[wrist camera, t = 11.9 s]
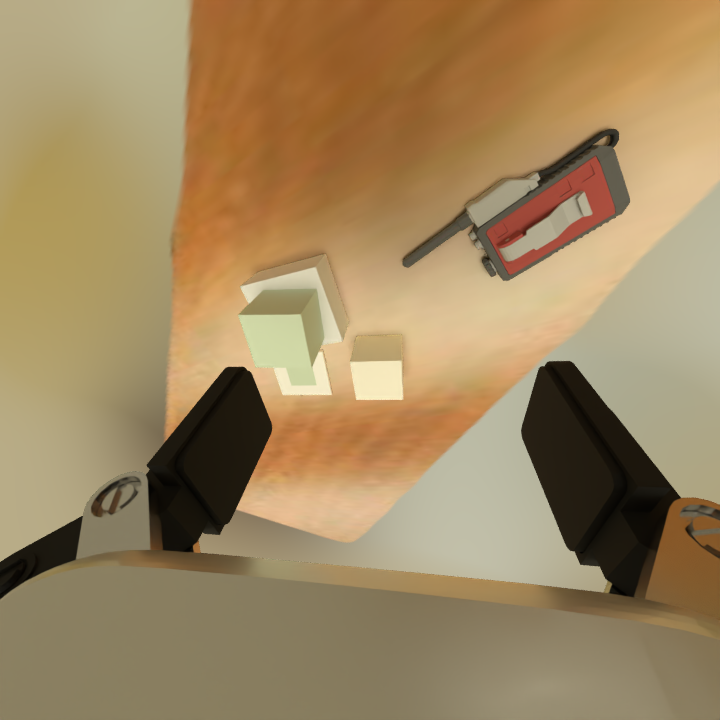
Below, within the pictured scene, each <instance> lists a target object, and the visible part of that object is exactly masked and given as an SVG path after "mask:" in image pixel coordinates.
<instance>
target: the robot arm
mask: <svg viewBox="0 0 720 720" xmlns="http://www.w3.org/2000/svg"><path fill="white" fill-rule="evenodd" d="M271 432H272V423H271V421H270V418H269V416H268V413H267V411H266V408H265V406H264V403H263V401H262V398H261V396H260V393H259V391H258V388H257V386H256V383H255V381H254V378H253V376H252V374H251V372H250V371H247V369H246V368H245V367H227V368H225V369H224V370H223V372H222V373H221V374H220V375H219V376H218V378H217V379H216V380H215V381H214V383H213V384H212V385H211V386H210V388H209V389H208V390H207V391H206V392H205V394H204V395H203V396H202V397H201V399H200V400H199V401H198V402H197V404H196V405H195V406H194V407H193V408H192V410H191V411H190V412H189V413H188V415H187V416H186V417H185V418H184V420H183V421H182V422H181V423H180V424H179V426H178V427H177V428H176V429H175V431H174V432H173V433H172V434H171V436H170V437H169V438H168V439H167V440H166V442H165V443H164V444H163V445H162V447H161V448H160V449H159V450H158V452H157V453H156V454H155V456H153V458H152V459H151V460H150V461H149V463H148V464H147V467H148V468H149V469H150V470H149V472H148V473H147V474H146V475H145V474H144V473H142V472H137V471H133V472H128V473H124V474H122V475H119V476H117V477H115V478H113V479H112V480H110V481H108V482H107V483H106V484H104V485H103V486H102V487H100V488H99V489H98V490H97V491H96V492H95V494H93V495H92V497H91V498H90V500H89V501H88V502H87V504H86V507H85V509H84V513H83V516H81V517H79V518H78V519H76V520H74V521H72V522H70V523H69V524H67V525H65V526H63V527H61V528H59V529H58V530H56V531H54V532H52V533H51V534H48V535H47V536H45V537H43V538H41V539H39V540H37V541H36V542H34V543H32V544H30V545H28V546H26V547H25V548H23V549H21V550H19V551H17V552H16V553H14V554H12V555H11V556H9V557H7V558H6V559H4V560H3V561H1V562H0V720H720V505H719V504H716V503H714V502H711V501H708V500H704V499H699V498H681V497H680V496H679V495H678V494H677V492H676V491H675V490H674V488H673V487H672V486H671V485H670V484H669V482H668V481H667V480H666V478H665V477H664V476H663V475H662V473H661V472H660V471H659V469H658V468H657V467H656V466H655V464H654V463H653V462H652V461H651V460H650V458H649V457H648V456H647V454H646V453H645V452H644V450H643V449H642V448H641V447H640V445H639V444H638V443H637V442H636V440H635V439H634V438H633V437H632V435H631V434H630V433H629V432H628V430H627V429H626V428H625V426H624V425H623V424H622V423H621V422H620V420H619V419H618V418H617V416H616V415H615V414H614V413H613V412H612V411H611V410H610V409H609V408H608V407H607V405H606V404H605V403H604V402H603V400H602V399H601V398H600V396H599V395H598V394H597V393H596V391H595V390H594V389H593V388H592V386H591V385H590V384H589V383H588V381H587V380H586V379H585V377H584V376H583V375H582V374H581V372H580V371H579V370H578V368H577V367H576V366H575V365H574V363H572V362H570V361H549V362H547V363H546V365H545V366H542V367H540V368H539V370H538V373H537V377H536V380H535V383H534V387H533V391H532V394H531V398H530V401H529V404H528V408H527V411H526V414H525V418H524V421H523V425H522V429H521V433H522V438H523V441H524V444H525V446H526V449H527V451H528V453H529V456H530V458H531V461H532V463H533V466H534V468H535V470H536V473H537V475H538V478H539V481H540V483H541V485H542V488H543V490H544V493H545V495H546V498H547V500H548V503H549V505H550V507H551V510H552V512H553V515H554V517H555V520H556V522H557V525H558V527H559V530H560V532H561V535H562V537H563V539H564V542H565V544H566V546H567V548H568V549H569V550H570V551H575V553H576V556H577V558H578V560H579V563H580V565H589V566H600V568H601V570H602V572H603V574H604V577H605V579H607V580H608V581H607V584H606V587H605V590H604V592H603V593H601V592H593V591H585V590H576V589H568V588H559V587H551V586H542V585H534V584H524V583H515V582H504V581H494V580H483V579H474V578H464V577H454V576H444V575H434V574H424V573H414V572H403V571H393V570H382V569H371V568H361V567H351V566H339V565H329V564H319V563H308V562H297V561H286V560H274V559H264V558H253V557H252V558H251V557H240V556H229V555H219V554H207V553H201V552H200V546H199V541H198V540H199V538H200V536H201V534H202V532H203V533H205V534H215V535H220V533H221V531H222V529H223V527H224V525H225V524H228V523H229V522H230V520H231V518H232V516H233V514H234V512H235V510H236V508H237V505H238V503H239V501H240V499H241V497H242V495H243V493H244V490H245V488H246V486H247V484H248V482H249V480H250V478H251V475H252V473H253V471H254V469H255V467H256V465H257V463H258V460H259V458H260V456H261V454H262V452H263V450H264V448H265V445H266V443H267V441H268V439H269V437H270V435H271Z"/></svg>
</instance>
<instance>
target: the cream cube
mask: <svg viewBox="0 0 720 720" xmlns="http://www.w3.org/2000/svg"><path fill="white" fill-rule="evenodd" d="M350 365H351V371H352V377H353V383H354V389H355V395H356V400H403V350H402V334H401V335H375V336H357V337H356V340H355V344H354V348H353V352H352V356H351V360H350Z"/></svg>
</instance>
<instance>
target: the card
mask: <svg viewBox="0 0 720 720" xmlns="http://www.w3.org/2000/svg"><path fill="white" fill-rule="evenodd" d="M274 371H275V374H276V377H277V380H278V383H279V386H280V388H281V391H282V394H283V395H332V389H331V384H330V379H329V375H328V370H327V365H326V361H325V356H324V351H323V350H319V352H318V355H317V357H316V359H315V362H314V364H313V367H312V368H274Z"/></svg>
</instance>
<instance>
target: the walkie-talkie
mask: <svg viewBox="0 0 720 720" xmlns="http://www.w3.org/2000/svg"><path fill="white" fill-rule="evenodd" d="M607 135H610V143H609V144H608V145H607V146H599V145H593V144H594V143H596V142H597V141H599V140H600V139H602V138H603V137H605V136H607ZM618 140H619V132H618V131H617V130H616V129H608V130H605V131H602V132H600V133H599V134H597V135H596V136H595V137H593V138H592V139H590V140H589V141H588V142H586V143H585V144H583V145H582V146H581V147H579V148H578V149H576V150H575V151H573V152H572V153H571V154H569V155H568V156H566V157H565V158H564V159H562V160H561V161H559V162H558V163H557V164H555V165H554V166H552V167H550V168H549V169H546V170H541V171H539V172H532V173H531V174H529V175H528V176H527V177H525V178H510V179H502V180H500V181H499V182H498V183H496V184H495V185H494V186H492V187H491V188H490V189H488V190H487V191H485V192H484V193H483V194H481V195H480V196H479V197H477V198H476V199H475V200H473V201H470V202H468V203H467V204H466V205H464V206H465V208H466V210H467V211H466V212H465V213H464V214H462V215H461V216H460V217H458V218H457V219H456V221H455V222H454V223H452V224H451V225H450V226H448V227H447V228H446V229H444V230H443V231H442V232H440V233H439V234H437V235H436V236H435V237H433V238H432V239H431V240H429V241H428V242H427V243H425V244H424V245H423V246H421V247H420V248H419V249H417V250H416V251H414V252H413V253H412V254H410V255H409V256H408V257H406V258H405V259H404V260H403V266H404V267H410V266H411V265H413V264H414V263H415V262H417V261H418V260H420V259H421V258H422V257H424V256H425V255H427V254H428V253H429V252H431V251H432V250H434V249H435V248H436V247H438V246H439V245H441V244H442V243H443V242H445V241H446V240H448V239H449V238H450V237H452V236H453V235H455V234H456V233H457V232H459V231H460V230H464V229H466V228H467V227H468V226H470V225H471V224H473V223H474V224H475V225H474V227H473V230H472V232H471V233H470V234H469V236H470V238H471V240H472V241H474V240H475V239H477V240H478V241H477V242H475V243H474V244H475V246H476V248H477V249H478V250H479V249H481V248H482V249H484V250H485V252H486V254H487V255H488V257H489V259H486V258H485V259H483V260H482V263H483V264H484V266H485V268H486V270H487V271H488V273H489V274H490V276H491V277H493V276H495V275H496V272H497V273H498V274H499V276H500V277H501V278H502V280H503V281H508V280H510V279H512V278H514V277H515V276H517V275H519V274H520V273H522V272H524V271H526V270H527V269H529V268H531V267H532V266H534V265H536V264H537V263H539V262H541V261H543V260H544V259H546V258H548V257H549V256H551V255H552V254H553V253H555V252H558V250H560V249H563V248H564V247H565V246H567V245H570V243H572V242H575V241H576V240H577V239H579V238H582V237H583V236H584V235H585V234H589V232H591V231H592V230H595V229H596V228H597V227H599V226H602V225H603V224H604V223H606V222H609V220H611V219H613V218H616V216H618V215H620V214H622V213H623V212H624V210H625V209H626V207H627V206H628V205H629V203H630V198H629V194H628V191H627V188H626V185H625V181H624V178H623V175H622V172H621V169H620V165H619V162H618V159H617V156H616V153H615V150H614V149H613V148H614V146H615V145H616V144H617V142H618ZM543 175H545V176H543ZM541 176H543V177H541Z"/></svg>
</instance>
